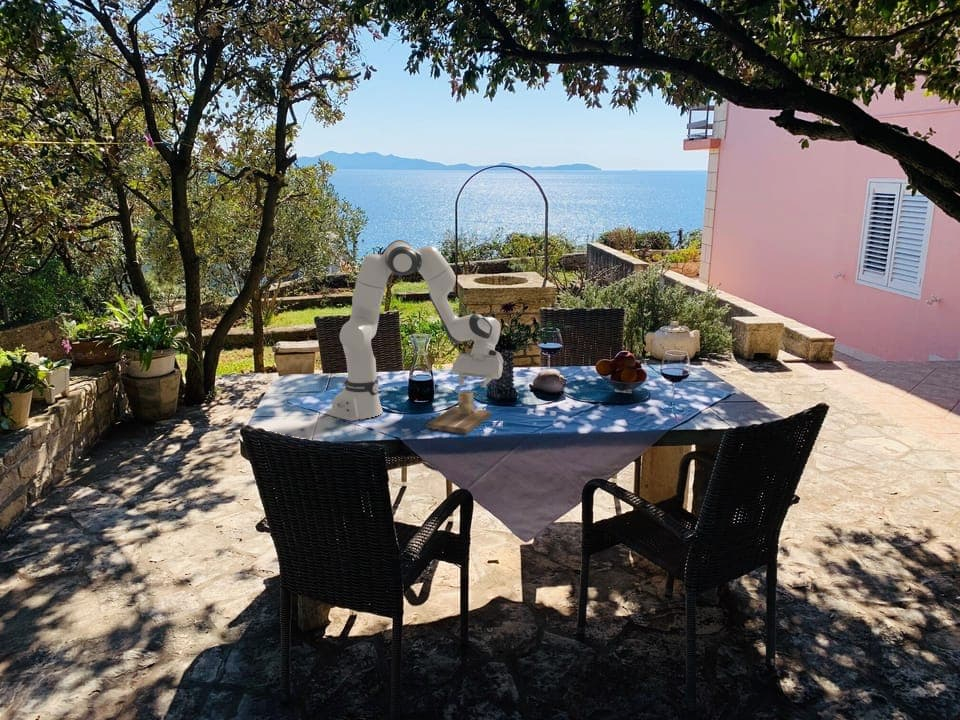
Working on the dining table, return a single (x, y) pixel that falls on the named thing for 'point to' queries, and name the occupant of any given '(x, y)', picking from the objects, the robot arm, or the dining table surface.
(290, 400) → the dining table surface
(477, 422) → the board
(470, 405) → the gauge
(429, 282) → the robot arm
